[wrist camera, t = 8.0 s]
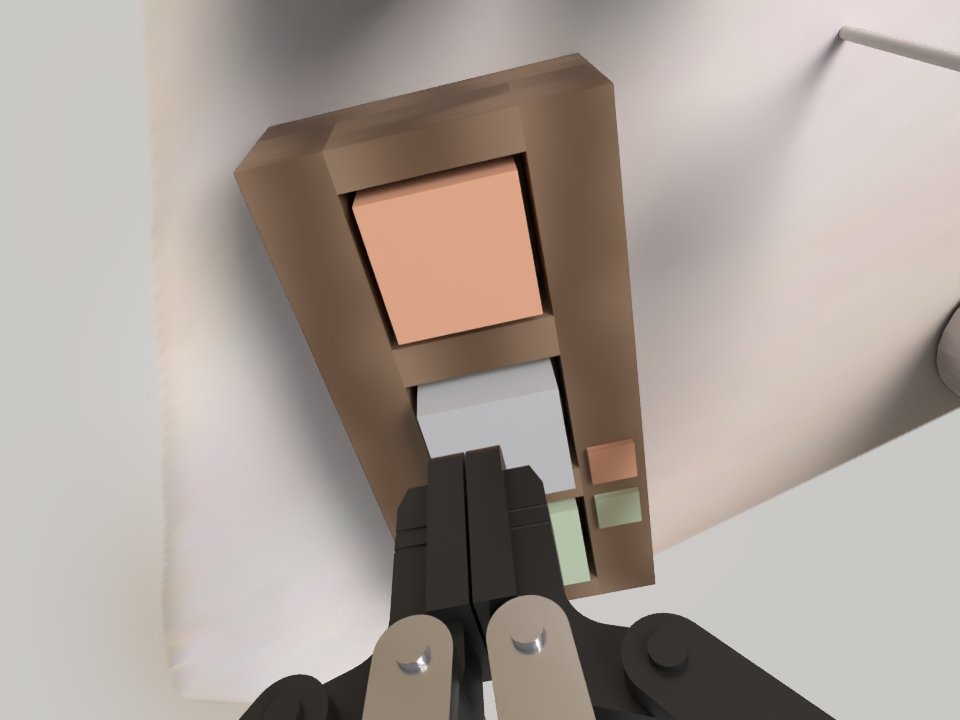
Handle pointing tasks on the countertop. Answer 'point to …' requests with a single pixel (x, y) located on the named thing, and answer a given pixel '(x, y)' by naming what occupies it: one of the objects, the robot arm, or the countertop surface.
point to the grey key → (501, 419)
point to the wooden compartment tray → (555, 334)
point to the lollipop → (903, 47)
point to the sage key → (569, 541)
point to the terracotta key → (450, 249)
